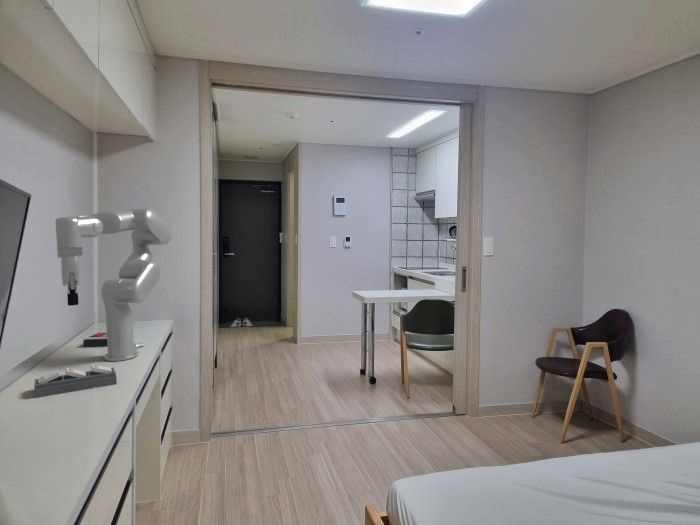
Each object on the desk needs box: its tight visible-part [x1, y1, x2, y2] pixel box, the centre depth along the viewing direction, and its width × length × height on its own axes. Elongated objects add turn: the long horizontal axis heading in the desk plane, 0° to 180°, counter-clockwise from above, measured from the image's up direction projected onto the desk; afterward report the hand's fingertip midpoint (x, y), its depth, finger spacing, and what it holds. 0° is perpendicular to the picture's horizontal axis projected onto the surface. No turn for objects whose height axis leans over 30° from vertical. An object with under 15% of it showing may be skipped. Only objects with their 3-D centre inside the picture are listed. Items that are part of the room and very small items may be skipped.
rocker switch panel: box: [33, 367, 118, 398], centre depth 162 cm, size 23×9×4 cm, turn 122°
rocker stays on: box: [37, 369, 61, 384], centre depth 157 cm, size 6×4×1 cm
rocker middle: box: [64, 367, 87, 378], centre depth 161 cm, size 6×4×1 cm
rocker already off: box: [90, 364, 112, 374], centre depth 165 cm, size 6×4×1 cm
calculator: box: [82, 332, 107, 349], centre depth 221 cm, size 11×4×15 cm
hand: (73, 304), depth 172 cm, fingers closed
